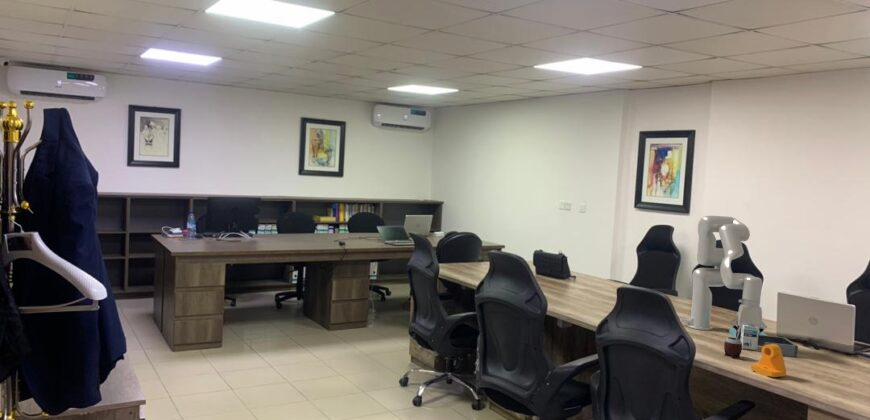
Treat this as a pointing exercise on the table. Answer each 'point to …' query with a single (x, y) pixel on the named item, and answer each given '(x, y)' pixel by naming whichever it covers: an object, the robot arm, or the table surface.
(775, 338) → the tray
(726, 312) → the table surface
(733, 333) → the tray
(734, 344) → the mate gourd
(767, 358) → the bracket
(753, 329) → the light bulb box
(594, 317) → the table surface
